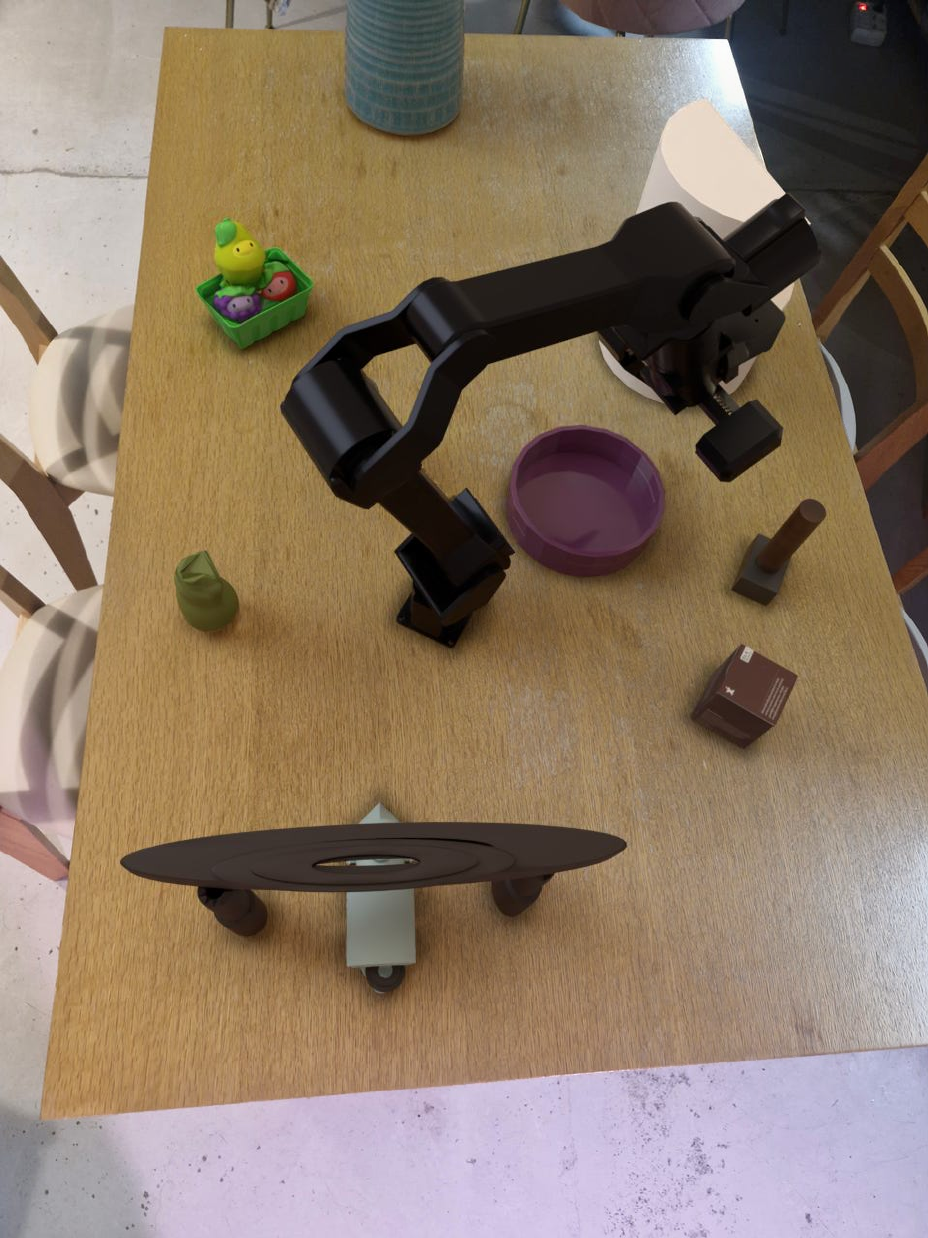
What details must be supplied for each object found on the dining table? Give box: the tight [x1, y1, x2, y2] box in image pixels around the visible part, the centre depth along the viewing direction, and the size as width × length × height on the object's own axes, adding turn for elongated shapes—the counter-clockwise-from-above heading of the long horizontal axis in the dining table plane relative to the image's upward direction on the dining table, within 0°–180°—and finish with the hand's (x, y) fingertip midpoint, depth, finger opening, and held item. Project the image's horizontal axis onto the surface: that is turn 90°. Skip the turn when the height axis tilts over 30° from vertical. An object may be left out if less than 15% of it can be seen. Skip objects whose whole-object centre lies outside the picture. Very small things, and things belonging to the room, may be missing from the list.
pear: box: [173, 549, 240, 633], centre depth 78 cm, size 6×5×10 cm
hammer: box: [730, 498, 827, 607], centre depth 85 cm, size 6×4×13 cm, turn 154°
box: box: [690, 643, 799, 750], centre depth 80 cm, size 6×6×7 cm
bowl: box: [504, 424, 666, 578], centre depth 90 cm, size 16×16×4 cm
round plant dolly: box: [119, 802, 628, 995], centre depth 64 cm, size 16×21×33 cm
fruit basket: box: [195, 216, 315, 350], centre depth 95 cm, size 11×9×11 cm
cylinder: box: [598, 97, 812, 407], centre depth 92 cm, size 19×19×25 cm
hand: (689, 420), depth 81 cm, fingers open, 9 cm apart
